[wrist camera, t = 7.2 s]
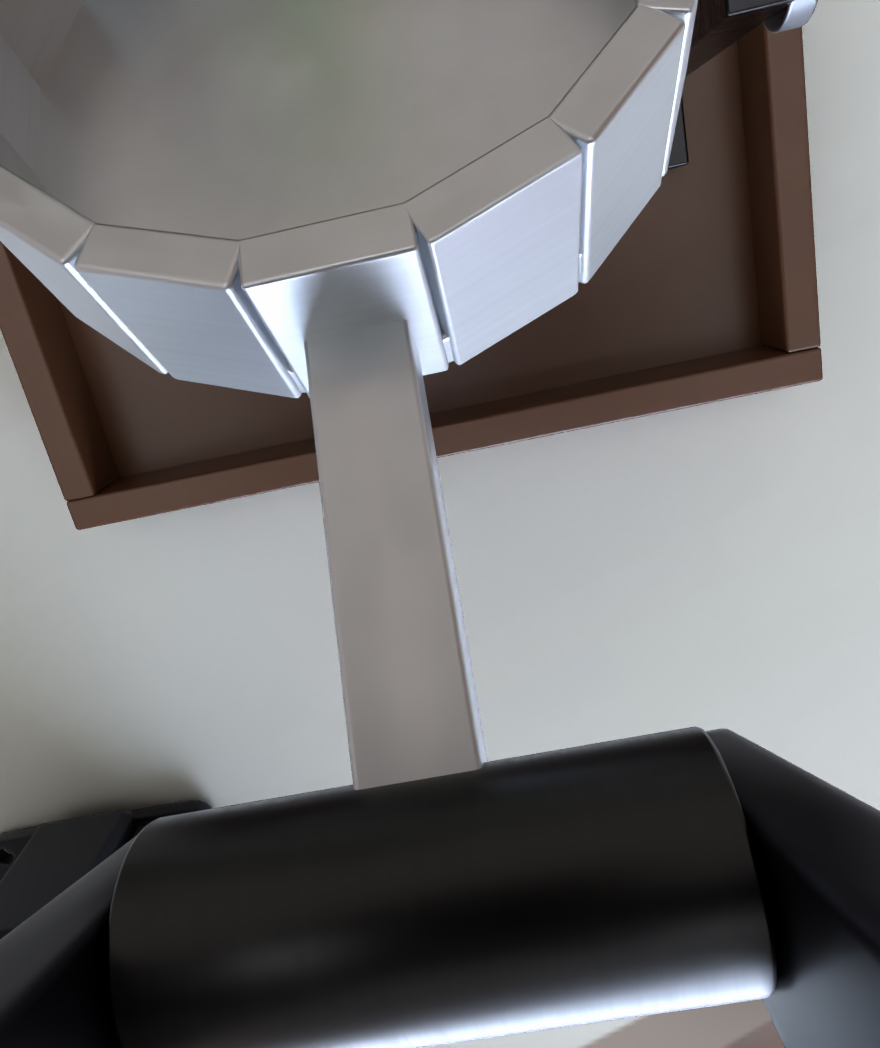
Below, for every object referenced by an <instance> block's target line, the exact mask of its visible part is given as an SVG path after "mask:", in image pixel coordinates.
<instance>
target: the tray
mask: <svg viewBox="0 0 880 1048" xmlns="http://www.w3.org/2000/svg"><path fill="white" fill-rule="evenodd" d="M682 99H683V108H684V118H685V128H686V137H687V147H688V157H689V162H688V164H687V165H685V166H682V167H678V168H674V169H669V170H667V173H666V174H665V176H662V179H661V185H660V187H659V188H658V189H657V191H656V192H655V193H654V195H653V196H652V197H651V199H650V200H649V201H648V203H647V204H646V205H645V207H644V208H643V209H642V211H641V212H640V213H639V215H638V216H637V217H636V219H635V220H634V221H633V223H632V224H631V225H630V227H629V228H628V229H627V231H626V232H625V234H624V235H623V236H622V237H621V239H620V240H619V242H618V243H617V244H616V246H615V247H614V248H613V250H612V251H611V252H610V254H609V255H608V256H607V258H606V259H605V260H604V262H603V263H602V264H601V266H600V267H599V268H598V270H597V271H596V272H595V274H594V275H593V276H592V278H591V279H590V280H589V281H588V282H587V283H586V284H584V283H580V282H579V283H578V292H577V293H576V294H575V295H573V296H572V297H570V298H569V299H567V300H565V301H564V302H562V303H560V304H559V305H557V306H556V307H554V308H552V309H551V310H549V311H547V312H546V313H544V314H543V315H541V316H539V317H538V318H536V319H534V320H533V321H531V322H530V323H528V324H526V325H525V326H523V327H521V328H520V329H518V330H517V331H515V332H513V333H512V334H510V335H508V336H507V337H505V338H504V339H502V340H500V341H499V342H497V343H495V344H494V345H492V346H491V347H489V348H487V349H486V350H484V351H482V352H481V353H479V354H478V355H476V356H474V357H473V358H471V359H469V360H468V361H466V362H465V363H463V364H461V365H458V364H456V363H455V362H454V361H452V362H450V363H449V367H448V370H446V371H443V372H438V373H433V374H428V375H424V376H423V380H424V386H425V392H426V398H427V403H428V409H429V415H430V421H431V427H432V433H433V439H434V445H435V451H436V457H437V458H439V457H444V456H449V455H454V454H459V453H464V452H469V451H474V450H479V449H484V448H489V447H493V446H498V445H503V444H508V443H513V442H518V441H523V440H528V439H533V438H538V437H543V436H548V435H553V434H558V433H563V432H568V431H573V430H578V429H583V428H588V427H593V426H598V425H603V424H608V423H613V422H618V421H623V420H628V419H633V418H637V417H642V416H647V415H652V414H657V413H662V412H667V411H672V410H677V409H682V408H687V407H692V406H697V405H702V404H707V403H712V402H717V401H722V400H727V399H732V398H737V397H742V396H747V395H752V394H757V393H762V392H767V391H772V390H776V389H781V388H786V387H791V386H796V385H801V384H806V383H811V382H816V381H820V380H822V378H823V376H822V359H821V349H820V348H819V347H818V346H820V328H819V311H818V295H817V278H816V261H815V244H814V227H813V210H812V193H811V176H810V159H809V142H808V125H807V108H806V91H805V74H804V58H803V41H802V26H801V27H799V28H795V29H790V30H786V31H782V32H778V33H774V32H770V31H769V30H767V28H766V27H765V26H764V24H763V23H762V24H760V25H759V26H758V27H756V28H755V29H753V30H752V31H750V32H749V33H748V34H746V35H745V36H743V37H742V38H740V39H739V40H738V41H736V42H735V43H733V44H732V45H730V46H729V47H728V48H726V49H725V50H723V51H722V52H720V53H719V54H718V55H716V56H715V57H713V58H712V59H710V60H709V61H708V62H706V63H705V64H703V65H702V66H700V67H699V68H698V69H696V70H695V71H693V72H692V73H691V74H689V75H688V76H686V77H685V80H684V86H683V91H682ZM0 329H1V331H2V334H3V337H4V339H5V342H6V345H7V347H8V350H9V353H10V355H11V358H12V360H13V363H14V366H15V368H16V371H17V374H18V376H19V379H20V382H21V384H22V387H23V390H24V392H25V395H26V398H27V400H28V403H29V406H30V408H31V411H32V414H33V416H34V419H35V422H36V424H37V427H38V430H39V432H40V435H41V438H42V440H43V443H44V446H45V448H46V451H47V454H48V456H49V459H50V462H51V464H52V467H53V469H54V472H55V475H56V477H57V480H58V483H59V485H60V488H61V491H62V493H63V496H64V499H65V500H66V501H68V502H67V506H68V508H69V511H70V514H71V516H72V519H73V522H74V524H75V527H76V529H77V530H81V529H86V528H91V527H96V526H101V525H106V524H111V523H116V522H121V521H126V520H131V519H136V518H141V517H146V516H151V515H156V514H161V513H166V512H171V511H176V510H181V509H186V508H191V507H196V506H201V505H206V504H210V503H215V502H220V501H225V500H230V499H235V498H240V497H245V496H250V495H255V494H260V493H265V492H270V491H275V490H280V489H285V488H290V487H295V486H300V485H305V484H310V483H315V482H319V475H318V466H317V457H316V448H315V439H314V430H313V421H312V412H311V404H310V398H309V396H308V394H307V393H302V394H301V396H300V397H299V398H291V397H285V396H279V395H272V394H266V393H260V392H253V391H247V390H241V389H234V388H228V387H222V386H216V385H209V384H203V383H197V382H191V381H184V380H178V379H175V378H174V377H172V376H171V374H170V373H169V372H168V373H167V374H162V373H159V372H158V371H156V370H155V369H153V368H152V367H150V366H149V365H147V364H146V363H144V362H143V361H141V360H140V359H138V358H137V357H135V356H134V355H132V354H131V353H129V352H128V351H126V350H125V349H123V348H122V347H120V346H119V345H117V344H116V343H114V342H113V341H111V340H110V339H108V338H107V337H105V336H104V335H102V334H101V333H99V332H98V331H96V330H95V329H93V328H92V327H90V326H89V325H87V324H86V323H84V322H83V321H81V320H80V319H78V318H77V317H75V316H74V315H73V314H72V313H71V312H70V311H69V310H68V309H67V308H66V307H65V306H64V305H63V304H62V303H61V302H60V301H59V300H58V299H57V298H56V297H55V296H54V295H53V294H52V293H51V292H50V291H49V290H48V289H47V288H46V287H45V286H44V285H43V283H42V282H41V281H40V280H39V279H38V278H37V277H36V276H35V275H34V274H33V273H32V272H31V271H30V270H29V269H28V268H27V267H26V266H25V265H24V264H23V263H22V262H21V261H20V260H19V259H18V258H17V257H16V256H15V255H14V254H13V253H12V252H11V251H10V250H9V249H8V248H7V247H6V246H5V245H4V244H3V243H2V242H1V241H0Z"/></svg>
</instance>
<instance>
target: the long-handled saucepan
mask: <svg viewBox="0 0 880 1048" xmlns="http://www.w3.org/2000/svg"><path fill="white" fill-rule="evenodd" d="M697 5H698V0H0V241H1V242H2V243H3V244H4V245H5V246H6V247H7V248H8V249H9V250H10V251H11V252H12V253H13V254H14V255H15V256H16V257H17V258H18V259H19V260H20V261H21V262H22V263H23V264H24V265H25V266H26V267H27V268H28V269H29V270H30V271H31V272H32V273H33V274H34V275H35V276H36V277H37V278H38V279H39V280H40V281H41V282H42V283H43V285H44V286H45V287H46V288H47V289H48V290H49V291H50V292H51V293H52V294H53V295H54V296H55V297H56V298H57V299H58V300H59V301H60V302H61V303H62V304H63V305H64V306H65V307H66V308H67V309H68V310H69V311H70V312H71V313H72V314H73V315H74V316H75V317H77V318H78V319H80V320H81V321H83V322H84V323H86V324H87V325H89V326H90V327H92V328H93V329H95V330H96V331H98V332H99V333H101V334H102V335H104V336H105V337H107V338H108V339H110V340H111V341H113V342H114V343H116V344H117V345H119V346H120V347H122V348H123V349H125V350H126V351H128V352H129V353H131V354H132V355H134V356H135V357H137V358H138V359H140V360H141V361H143V362H144V363H146V364H147V365H149V366H150V367H152V368H153V369H155V370H156V371H158V372H159V373H162V374H167V373H168V372H169V373H170V374H171V376H172V377H174V378H175V379H178V380H184V381H191V382H197V383H203V384H209V385H216V386H222V387H228V388H234V389H241V390H247V391H253V392H260V393H266V394H272V395H279V396H285V397H291V398H299V397H300V396H301V394H302V393H307V394H308V396H309V398H310V404H311V412H312V421H313V430H314V439H315V448H316V457H317V466H318V475H319V484H320V493H321V502H322V511H323V520H324V529H325V538H326V547H327V555H328V564H329V573H330V582H331V591H332V600H333V609H334V618H335V627H336V636H337V645H338V654H339V663H340V672H341V681H342V689H343V698H344V707H345V716H346V725H347V734H348V743H349V752H350V761H351V770H352V779H353V785H349V786H343V787H337V788H331V789H325V790H319V791H313V792H307V793H302V794H296V795H290V796H284V797H278V798H272V799H266V800H260V801H254V802H249V803H243V804H237V805H231V806H225V807H219V808H213V809H207V810H202V811H196V812H190V813H184V814H178V815H172V816H166V817H161V818H158V819H156V820H154V821H152V822H151V823H149V824H148V825H147V826H146V827H144V828H143V829H142V830H141V832H140V833H139V834H138V835H137V836H136V838H135V839H134V841H133V842H132V844H131V846H130V847H129V849H128V851H127V854H126V856H125V858H124V860H123V863H122V865H121V868H120V871H119V874H118V877H117V881H116V884H115V888H114V892H113V897H112V902H111V907H110V914H109V921H108V932H107V947H106V970H107V987H108V996H109V1004H110V1009H111V1015H112V1020H113V1024H114V1027H115V1031H116V1035H117V1038H118V1040H119V1043H120V1046H121V1048H421V1047H428V1046H435V1045H442V1044H449V1043H456V1042H463V1041H470V1040H477V1039H484V1038H491V1037H498V1036H505V1035H512V1034H519V1033H526V1032H533V1031H540V1030H547V1029H554V1028H561V1027H568V1026H575V1025H582V1024H589V1023H596V1022H603V1021H610V1020H617V1019H624V1018H631V1017H638V1016H645V1015H652V1014H659V1013H666V1012H673V1011H680V1010H687V1009H694V1008H701V1007H708V1006H715V1005H721V1004H722V1005H723V1004H728V1003H737V1002H743V1001H750V1000H757V999H765V998H769V997H770V996H771V995H772V994H773V993H774V992H775V989H776V982H777V958H776V947H775V939H774V932H773V926H772V920H771V915H770V910H769V905H768V900H767V895H766V891H765V886H764V882H763V878H762V874H761V870H760V866H759V862H758V858H757V855H756V851H755V848H754V844H753V841H752V837H751V834H750V831H749V828H748V824H747V821H746V818H745V815H744V812H743V809H742V806H741V803H740V801H739V798H738V795H737V792H736V790H735V787H734V785H733V782H732V780H731V777H730V775H729V772H728V770H727V768H726V765H725V763H724V761H723V759H722V757H721V755H720V753H719V751H718V749H717V748H716V746H715V744H714V743H713V741H712V740H711V738H710V737H709V735H708V734H707V733H706V732H705V731H704V730H703V729H701V728H699V727H690V728H684V729H678V730H672V731H666V732H660V733H654V734H648V735H643V736H637V737H631V738H625V739H619V740H613V741H607V742H601V743H596V744H590V745H584V746H578V747H572V748H566V749H560V750H554V751H549V752H543V753H537V754H531V755H525V756H519V757H513V758H507V759H501V760H496V761H490V762H488V761H487V755H486V749H485V743H484V737H483V731H482V725H481V719H480V713H479V707H478V701H477V695H476V689H475V684H474V678H473V672H472V666H471V660H470V654H469V648H468V642H467V636H466V630H465V624H464V618H463V612H462V606H461V600H460V594H459V588H458V582H457V576H456V570H455V564H454V558H453V552H452V546H451V541H450V535H449V529H448V523H447V517H446V511H445V505H444V499H443V493H442V487H441V481H440V475H439V469H438V463H437V457H436V451H435V445H434V439H433V433H432V427H431V421H430V415H429V409H428V403H427V398H426V392H425V386H424V380H423V376H424V375H428V374H433V373H438V372H443V371H446V370H448V367H449V363H450V362H452V361H454V362H455V363H456V364H458V365H461V364H463V363H465V362H466V361H468V360H469V359H471V358H473V357H474V356H476V355H478V354H479V353H481V352H482V351H484V350H486V349H487V348H489V347H491V346H492V345H494V344H495V343H497V342H499V341H500V340H502V339H504V338H505V337H507V336H508V335H510V334H512V333H513V332H515V331H517V330H518V329H520V328H521V327H523V326H525V325H526V324H528V323H530V322H531V321H533V320H534V319H536V318H538V317H539V316H541V315H543V314H544V313H546V312H547V311H549V310H551V309H552V308H554V307H556V306H557V305H559V304H560V303H562V302H564V301H565V300H567V299H569V298H570V297H572V296H573V295H575V294H576V293H577V292H578V283H579V282H580V283H584V284H586V283H587V282H588V281H589V280H590V279H591V278H592V276H593V275H594V274H595V272H596V271H597V270H598V268H599V267H600V266H601V264H602V263H603V262H604V260H605V259H606V258H607V256H608V255H609V254H610V252H611V251H612V250H613V248H614V247H615V246H616V244H617V243H618V242H619V240H620V239H621V237H622V236H623V235H624V234H625V232H626V231H627V229H628V228H629V227H630V225H631V224H632V223H633V221H634V220H635V219H636V217H637V216H638V215H639V213H640V212H641V211H642V209H643V208H644V207H645V205H646V204H647V203H648V201H649V200H650V199H651V197H652V196H653V195H654V193H655V192H656V191H657V189H658V188H659V187H660V185H661V179H662V176H665V174H666V173H667V169H668V164H669V159H670V154H671V148H672V143H673V138H674V133H675V127H676V122H677V117H678V112H679V107H680V101H681V96H682V91H683V86H684V80H685V75H686V70H687V64H688V58H689V52H690V46H691V40H692V34H693V28H694V22H695V16H696V10H697Z"/></svg>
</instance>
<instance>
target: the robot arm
mask: <svg viewBox="0 0 880 1048" xmlns="http://www.w3.org/2000/svg"><path fill="white" fill-rule="evenodd" d="M705 732H706V733H707V734H708V735H709V737H710V738H711V740H712V741H713V743H714V744H715V746H716V748H717V749H718V751H719V753H720V755H721V757H722V759H723V761H724V763H725V765H726V768H727V770H728V772H729V775H730V777H731V780H732V782H733V785H734V787H735V790H736V792H737V795H738V798H739V801H740V803H741V806H742V809H743V812H744V815H745V818H746V821H747V824H748V828H749V831H750V834H751V837H752V841H753V844H754V848H755V851H756V855H757V858H758V862H759V866H760V870H761V874H762V878H763V882H764V886H765V891H766V895H767V900H768V905H769V910H770V915H771V920H772V926H773V932H774V939H775V947H776V958H777V982H776V989H775V992H774V993H773V994H772V995H771V996H770V997H769V998H765V999H762V1000H763V1002H764V1004H765V1006H766V1008H767V1010H768V1012H769V1014H770V1017H771V1019H772V1021H773V1023H774V1025H775V1027H776V1029H777V1031H778V1034H779V1036H780V1038H781V1040H782V1042H783V1044H784V1046H785V1048H880V811H879V810H877V809H875V808H873V807H872V806H870V805H868V804H866V803H864V802H862V801H860V800H859V799H857V798H855V797H853V796H851V795H849V794H847V793H846V792H844V791H842V790H840V789H838V788H836V787H835V786H833V785H831V784H829V783H827V782H825V781H823V780H822V779H820V778H818V777H816V776H814V775H812V774H810V773H809V772H807V771H805V770H803V769H801V768H799V767H798V766H796V765H794V764H792V763H790V762H788V761H786V760H785V759H783V758H781V757H779V756H777V755H775V754H774V753H772V752H770V751H768V750H766V749H764V748H762V747H761V746H759V745H757V744H755V743H753V742H751V741H749V740H748V739H746V738H744V737H742V736H740V735H738V734H737V733H735V732H733V731H731V730H728V729H716V730H710V731H705ZM207 809H212V808H211V807H210V806H209V805H208V804H206V803H205V802H202V801H199V800H191V801H185V802H179V803H174V804H168V805H162V806H156V807H150V808H144V809H139V810H133V811H115V812H109V813H104V814H98V815H92V816H86V817H80V818H74V819H69V820H63V821H57V822H51V823H45V824H42V825H40V826H39V827H33V828H28V829H22V830H16V831H10V832H5V833H2V834H0V1048H121V1046H120V1043H119V1040H118V1038H117V1035H116V1031H115V1027H114V1024H113V1020H112V1015H111V1009H110V1004H109V996H108V987H107V970H106V947H107V932H108V921H109V914H110V907H111V902H112V897H113V892H114V888H115V884H116V881H117V877H118V874H119V871H120V868H121V865H122V863H123V860H124V858H125V856H126V854H127V851H128V849H129V847H130V846H131V844H132V842H133V841H134V839H135V838H136V836H137V835H138V834H139V833H140V832H141V830H142V829H143V828H144V827H146V826H147V825H148V824H149V823H151V822H152V821H154V820H156V819H158V818H161V817H166V816H172V815H178V814H184V813H190V812H196V811H202V810H207ZM4 849H6V850H8V851H10V852H11V853H12V854H10V853H8V852H6V851H5V850H4Z"/></svg>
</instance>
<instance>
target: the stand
mask: <svg viewBox="0 0 880 1048" xmlns="http://www.w3.org/2000/svg"><path fill="white" fill-rule="evenodd" d="M817 1H818V0H698V5H697V10H696V16H695V22H694V28H693V34H692V40H691V46H690V52H689V58H688V64H687V70H686V75H685V77H686V76H688V75H689V74H691V73H692V72H693V71H695V70H696V69H698V68H699V67H700V66H702V65H703V64H705V63H706V62H708V61H709V60H710V59H712V58H713V57H715V56H716V55H718V54H719V53H720V52H722V51H723V50H725V49H726V48H728V47H729V46H730V45H732V44H733V43H735V42H736V41H738V40H739V39H740V38H742V37H743V36H745V35H746V34H748V33H749V32H750V31H752V30H753V29H755V28H756V27H758V26H759V25H760V24H762V23H763V24H764V26H765V27H766V28H767V30H769V31H770V32H774V33H778V32H782V31H786V30H790V29H795V28H799V27H801V26H803V25H804V24H805V23H807V22H808V20H809V19H810V18H811V16H812V14H813V12H814V10H815V7H816V4H817ZM688 162H689V157H688V147H687V137H686V128H685V118H684V108H683V99H682V96H681V101H680V107H679V112H678V117H677V122H676V127H675V133H674V138H673V143H672V148H671V154H670V159H669V164H668V169H667V170H669V169H674V168H678V167H682V166H685V165H687V164H688Z"/></svg>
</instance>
